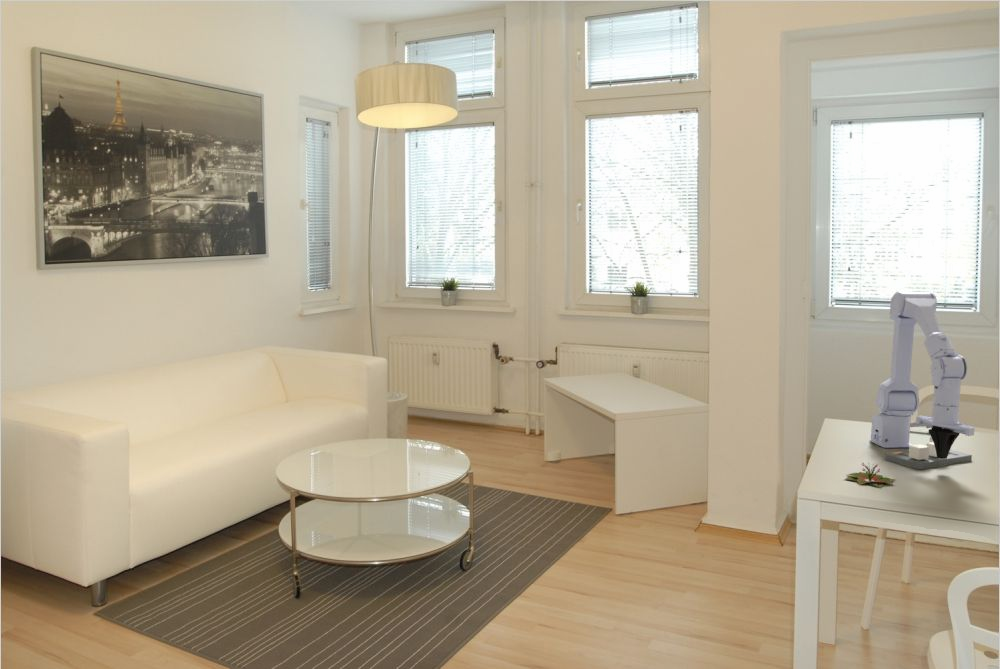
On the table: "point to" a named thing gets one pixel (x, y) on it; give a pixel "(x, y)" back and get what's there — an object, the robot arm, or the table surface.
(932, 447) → the tab
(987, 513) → the table surface
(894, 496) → the table surface
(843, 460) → the table surface
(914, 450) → the light grey block
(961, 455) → the switch panel
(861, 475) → the lily flower
